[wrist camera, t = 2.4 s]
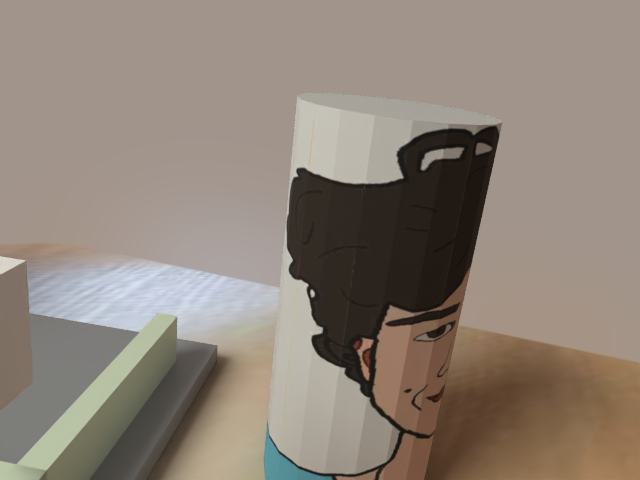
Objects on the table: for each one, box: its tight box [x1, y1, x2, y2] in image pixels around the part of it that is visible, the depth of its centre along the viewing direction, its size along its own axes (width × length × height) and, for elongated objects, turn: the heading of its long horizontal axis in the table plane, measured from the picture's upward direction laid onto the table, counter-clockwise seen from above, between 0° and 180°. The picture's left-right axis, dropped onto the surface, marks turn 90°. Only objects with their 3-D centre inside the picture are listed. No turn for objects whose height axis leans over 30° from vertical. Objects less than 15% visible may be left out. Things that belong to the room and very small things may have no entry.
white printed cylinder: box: [264, 93, 502, 480], centre depth 21 cm, size 7×7×15 cm
